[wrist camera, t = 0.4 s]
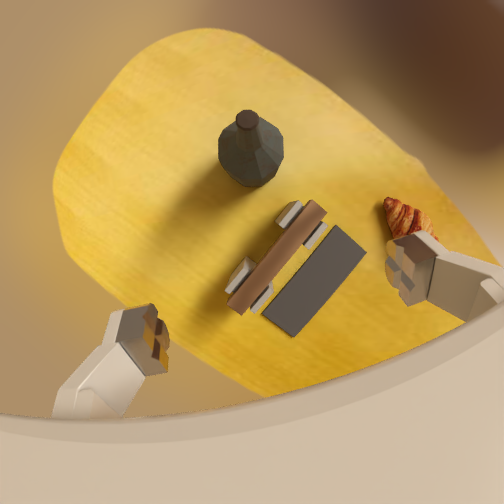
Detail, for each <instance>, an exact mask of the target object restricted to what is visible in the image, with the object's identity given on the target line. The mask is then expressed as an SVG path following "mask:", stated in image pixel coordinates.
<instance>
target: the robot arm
mask: <svg viewBox="0 0 504 504" xmlns="http://www.w3.org/2000/svg"><path fill="white" fill-rule="evenodd" d="M386 252H387V253H388V255H389V257H388V258H387V260H386V262H385V272H386V277H387V279H388V281H389V283H390V284H391V285H392V287H394V288H397V289H399V296H400V297H401V298H402V300H403V301H404V302H405V304H406V305H407V306H411V305H414V304H416V303H419V302H422V301H424V300H427V301H429V302H431V303H432V304H434V305H436V306H438V307H440V308H442V309H443V310H445V311H447V312H449V313H451V314H452V315H454V316H456V317H458V318H460V319H461V320H463V321H465V322H466V323H464V324H462V325H460V326H458V327H456V328H455V329H453V330H451V331H449V332H447V333H445V334H443V335H441V336H439V337H437V338H435V339H432V340H430V341H428V342H426V343H424V344H422V345H420V346H417V347H415V348H413V349H411V350H408V351H406V352H404V353H401V354H399V355H397V356H394V357H392V358H389V359H387V360H384V361H382V362H379V363H377V364H374V365H372V366H369V367H366V368H363V369H361V370H358V371H355V372H352V373H349V374H347V375H344V376H341V377H338V378H335V379H331V380H328V381H325V382H322V383H319V384H315V385H312V386H309V387H305V388H302V389H298V390H294V391H291V392H287V393H283V394H279V395H275V396H271V397H267V398H262V399H258V400H253V401H249V402H244V403H239V404H234V405H229V406H223V407H218V408H212V409H205V410H199V411H192V412H185V413H176V414H167V415H159V416H147V417H134V418H122V416H123V415H124V413H125V411H126V410H127V408H128V406H129V405H130V403H131V401H132V400H133V398H134V396H135V394H136V393H137V391H138V390H139V388H140V386H141V384H142V383H143V381H144V380H145V376H150V375H156V374H161V373H167V372H168V358H169V357H168V355H167V354H166V350H167V349H168V348H169V342H170V339H169V333H168V330H167V327H166V325H165V323H164V321H163V320H161V319H159V318H157V315H158V311H157V309H156V307H155V306H154V304H151V303H149V304H144V305H139V306H134V307H129V308H126V309H120V310H116V311H113V312H112V313H111V315H110V318H109V321H108V325H107V328H106V331H105V335H104V338H103V342H102V345H99V346H97V347H96V349H95V350H94V351H93V352H92V353H91V354H90V355H89V356H88V357H87V358H86V360H85V361H84V362H83V363H82V364H81V365H80V366H79V367H78V368H77V369H76V371H75V372H74V373H73V374H72V375H71V376H70V377H69V378H68V380H67V381H66V382H65V383H64V384H63V385H62V386H61V387H60V389H59V390H58V393H57V397H56V401H55V404H54V408H53V412H52V416H51V418H44V417H31V416H21V415H12V414H5V413H0V504H504V268H503V267H500V266H497V265H494V264H491V263H488V262H485V261H482V260H479V259H476V258H473V257H470V256H467V255H464V254H461V253H457V252H454V251H451V252H449V251H448V250H447V249H446V248H445V247H443V246H442V245H441V244H440V243H439V242H438V241H437V240H435V239H434V238H433V237H432V236H431V235H430V234H428V233H427V232H426V231H424V230H420V231H417V232H414V233H411V234H410V235H407V236H403V237H400V238H397V239H393V240H390V241H388V242H387V245H386Z"/></svg>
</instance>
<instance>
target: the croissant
mask: <svg viewBox="0 0 504 504" xmlns="http://www.w3.org/2000/svg"><path fill="white" fill-rule="evenodd" d="M383 204H384V205H383V206H384V208H385V210H386V212H387V214H386V216H387V217H386V219H387V222H388V225H389V227H390V230H391V232H392V236H393V238H394V239H397V238H400V237H403V236H407V235H410V234H411V233H414V232H417V231H420V230H424V231H426V232H427V233H428V234H430V235H431V236H432V237H433V238H434V239H435V240H437V241H438V237H436V236H435V235H434V232H433V225H432V221H431V220H430V219H429V217H428V216H427V215H426V214H425V213H423V212H421V211H420V210H418V209H415V208H412V207H411V206H409V205H405V204H402V203H401V202H400V200H398V199H393V198H389V197H387V198H386V199H384V203H383ZM438 242H439V241H438Z"/></svg>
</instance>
